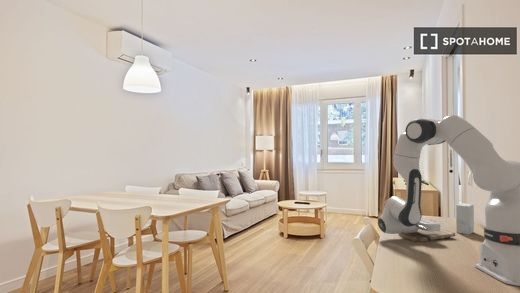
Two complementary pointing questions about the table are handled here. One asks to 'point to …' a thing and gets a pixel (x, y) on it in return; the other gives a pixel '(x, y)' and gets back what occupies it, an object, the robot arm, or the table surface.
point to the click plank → (436, 234)
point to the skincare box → (465, 218)
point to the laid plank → (414, 236)
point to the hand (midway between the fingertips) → (434, 222)
